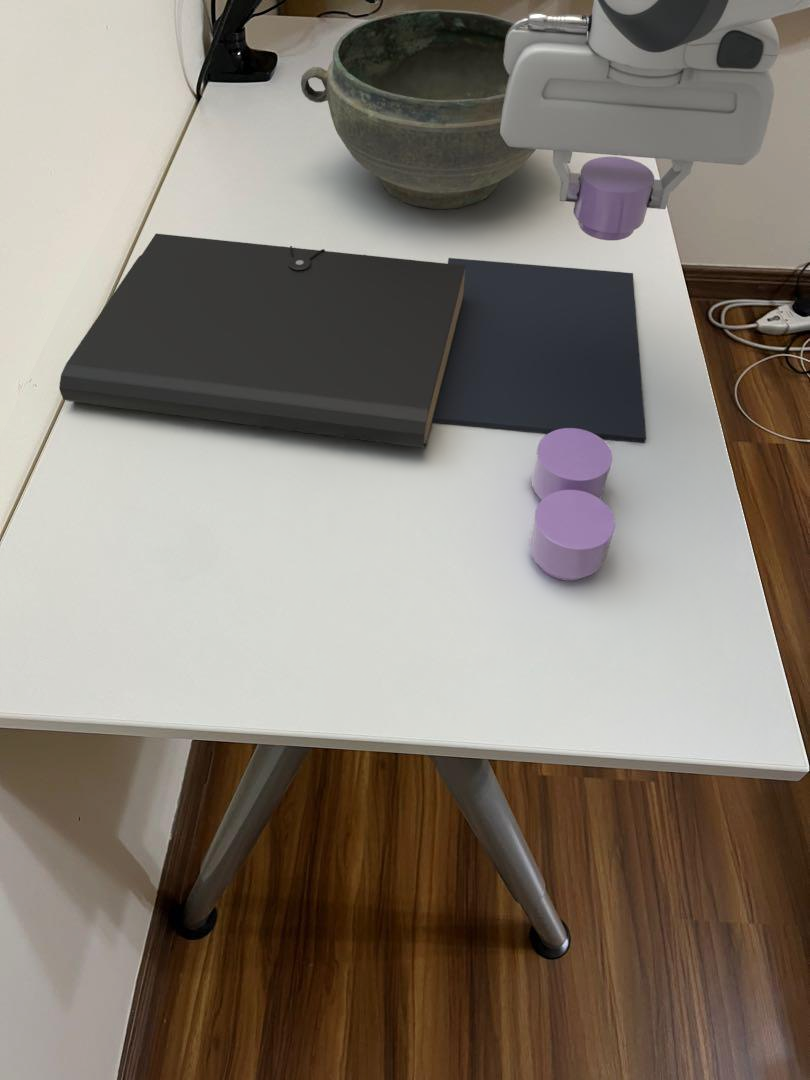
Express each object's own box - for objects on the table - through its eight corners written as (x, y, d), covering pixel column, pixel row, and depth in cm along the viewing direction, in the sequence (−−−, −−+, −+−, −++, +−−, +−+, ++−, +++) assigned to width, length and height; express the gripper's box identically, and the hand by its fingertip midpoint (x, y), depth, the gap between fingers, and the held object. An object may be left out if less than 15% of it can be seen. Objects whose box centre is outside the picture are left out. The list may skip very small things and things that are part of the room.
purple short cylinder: (600, 470, 73) (611, 431, 70) (602, 522, 69) (613, 483, 66) (531, 463, 74) (538, 424, 70) (528, 515, 70) (536, 476, 66)
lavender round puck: (639, 210, 75) (652, 159, 71) (643, 247, 71) (657, 195, 67) (570, 204, 75) (580, 153, 72) (571, 241, 71) (581, 189, 68)
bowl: (295, 231, 97) (282, 95, 85) (319, 126, 113) (311, 1, 102) (577, 241, 96) (602, 106, 85) (559, 134, 113) (579, 9, 101)
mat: (631, 277, 92) (632, 272, 91) (644, 443, 75) (646, 438, 75) (448, 262, 93) (448, 257, 93) (422, 421, 77) (422, 416, 76)
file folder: (466, 261, 85) (424, 424, 70) (464, 295, 88) (423, 459, 73) (155, 229, 89) (53, 377, 74) (164, 263, 92) (68, 412, 77)
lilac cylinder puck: (602, 531, 69) (614, 493, 65) (604, 591, 65) (616, 553, 61) (528, 524, 69) (536, 485, 66) (526, 582, 65) (533, 544, 62)
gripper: (506, 27, 59) (487, 211, 70) (803, 48, 58) (737, 232, 69) (509, -6, 63) (490, 173, 74) (788, 13, 62) (728, 192, 73)
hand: (612, 202), depth 71 cm, fingers closed on lavender round puck, 6 cm apart
